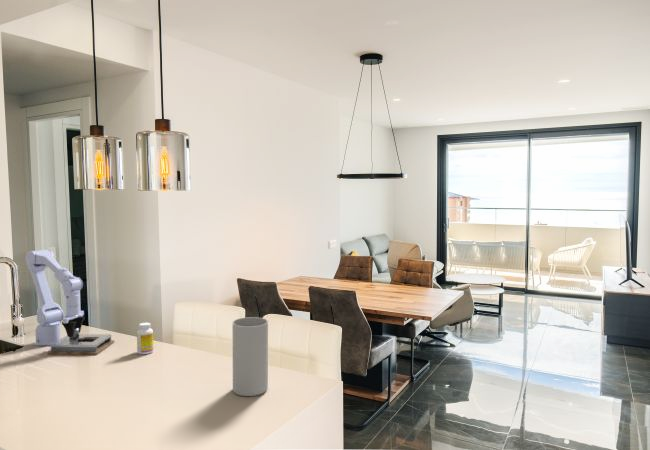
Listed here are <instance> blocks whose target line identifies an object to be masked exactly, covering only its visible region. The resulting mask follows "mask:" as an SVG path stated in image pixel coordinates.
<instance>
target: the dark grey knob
mask: <svg viewBox="0 0 650 450" xmlns="http://www.w3.org/2000/svg"><path fill="white" fill-rule="evenodd" d="M79 334H80V333H79V328H78V327H75V328H74V336H73V337H69V339H71V341H78V338H79Z"/></svg>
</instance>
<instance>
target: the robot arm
mask: <svg viewBox="0 0 650 450" xmlns="http://www.w3.org/2000/svg"><path fill="white" fill-rule="evenodd" d="M24 260H25V263H26V266H27V269H28V271H29V272H30V275H31V279H32V281H33V284H34V289H35V291H36V295H37V298H38V302H39V304H40V306H39V307H38V308H37V310H36V321H37V323H38V324H37V326H36V328H35V344H34V346H51V344H53V343H55V342H56V341H58V340H60V339H61V325H62V326H63V328H64V329H65V332H66V336H67V335H68V337H73V336H74V328H75V327H78V328H79V334H81V329H82V325H83V323H84V321H85V319H86V317H85V316H84V315H85V311H84V310H81V290H82V289H83V287H84V282H83V280H82V279H81V277H80V276H79V277H78V276H75V275H73V273H71V271H69V270H68V268H67V267H62V266H61V265H60V264H59V263H58V261H57V260H56V259H55V254H54V252H53V251H52V250H51V249H50V248H45V249H39V250H28V251H27V252H26V255H25V258H24ZM47 268H49V269H50V271H52V272H53V273H54V278H55V279H56V280H57V281H58V282H60V284H61V285H62V287H61V288H62V290H63V292H64V293H63V294H64V296H65V312H64V310H63V309H62V308H61V306H60V304H59V303H57V302H55V301H54V299H53V296H52V293H51V290H50V286H49V283H48V279H47V277H46V274H45V269H47Z"/></svg>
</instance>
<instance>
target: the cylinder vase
mask: <svg viewBox="0 0 650 450" xmlns="http://www.w3.org/2000/svg"><path fill="white" fill-rule="evenodd" d="M268 365H269V320H267V319H266V318H262V317H257V316H250V317H248V316H247V317H242V318H241V317H240V318H237V319H234V320H233V321H232V391H233V393H234V394H235V395H238V396H240V397H247V396H249V397H257V396H259V395H262V394H264V393H266V391H267V390H268V386H269V366H268Z"/></svg>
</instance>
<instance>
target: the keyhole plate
mask: <svg viewBox="0 0 650 450" xmlns="http://www.w3.org/2000/svg"><path fill="white" fill-rule="evenodd" d="M111 340H112V334H106V333H105V334H101V333H99V334H93V333H91V334H89V333H88V334H87V333H86V334H85V333H83V334H81V333H79V338H78V341H71V339H69V337H68V335H67V334H66V335H65V336H63V337H62V338H60V340H58V341H56V342H55V343H53V344H51V345H50V351H51V352H97V351H98V345H100V344H101V343H103V342H110V341H111Z"/></svg>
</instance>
